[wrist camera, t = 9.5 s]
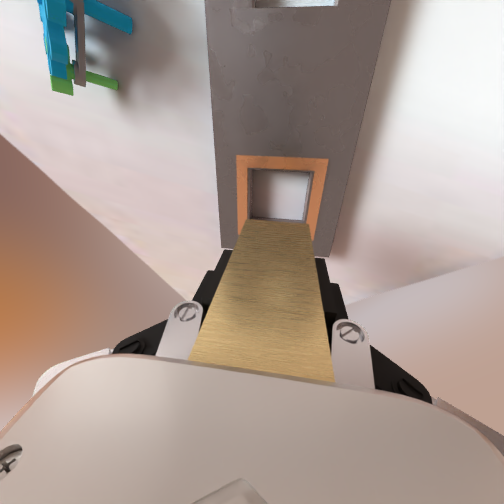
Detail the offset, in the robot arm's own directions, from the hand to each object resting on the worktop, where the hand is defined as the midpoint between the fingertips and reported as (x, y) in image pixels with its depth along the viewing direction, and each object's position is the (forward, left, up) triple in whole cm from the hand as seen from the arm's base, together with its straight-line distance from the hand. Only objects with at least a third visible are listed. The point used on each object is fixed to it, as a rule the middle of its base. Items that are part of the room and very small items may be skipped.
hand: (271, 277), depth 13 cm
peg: (0, 0, -3) cm, 3 cm away
